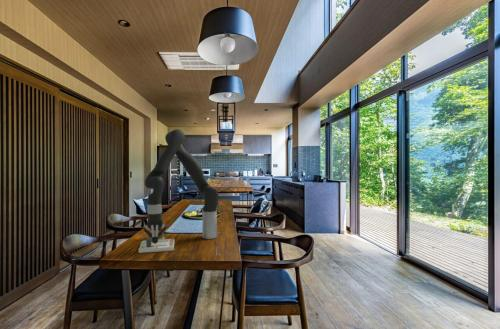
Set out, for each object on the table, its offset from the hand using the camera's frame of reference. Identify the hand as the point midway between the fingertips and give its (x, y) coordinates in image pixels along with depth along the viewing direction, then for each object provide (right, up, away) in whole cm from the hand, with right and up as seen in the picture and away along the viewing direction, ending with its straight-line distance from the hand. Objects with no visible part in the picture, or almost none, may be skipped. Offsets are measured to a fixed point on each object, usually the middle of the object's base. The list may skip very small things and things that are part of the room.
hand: (155, 243), depth 144 cm
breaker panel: (0, -4, +5) cm, 6 cm away
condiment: (-7, -4, +24) cm, 25 cm away
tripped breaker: (-3, -1, -1) cm, 4 cm away
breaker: (-5, -1, +8) cm, 10 cm away
